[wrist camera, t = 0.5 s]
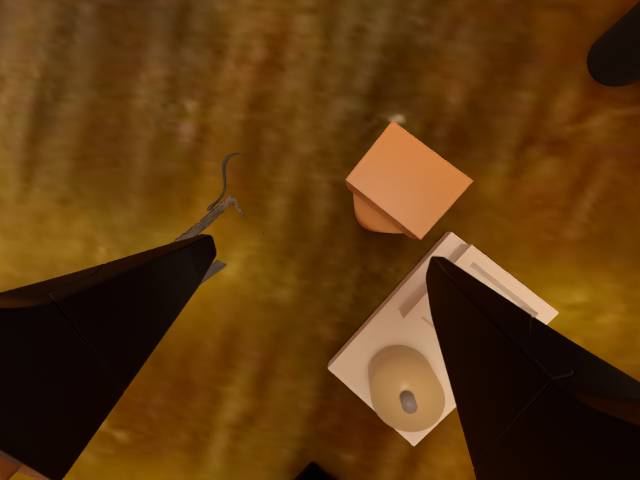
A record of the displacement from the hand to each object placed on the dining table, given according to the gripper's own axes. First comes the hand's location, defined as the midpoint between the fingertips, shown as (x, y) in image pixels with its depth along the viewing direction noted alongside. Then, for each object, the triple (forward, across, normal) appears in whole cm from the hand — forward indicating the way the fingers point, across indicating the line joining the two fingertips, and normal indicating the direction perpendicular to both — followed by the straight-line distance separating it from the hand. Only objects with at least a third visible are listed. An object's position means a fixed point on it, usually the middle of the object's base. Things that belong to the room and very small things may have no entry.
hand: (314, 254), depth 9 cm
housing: (+9, -10, +15) cm, 20 cm away
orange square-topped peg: (+15, -4, +4) cm, 15 cm away
